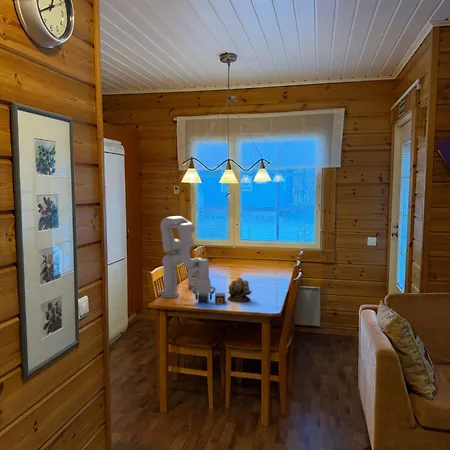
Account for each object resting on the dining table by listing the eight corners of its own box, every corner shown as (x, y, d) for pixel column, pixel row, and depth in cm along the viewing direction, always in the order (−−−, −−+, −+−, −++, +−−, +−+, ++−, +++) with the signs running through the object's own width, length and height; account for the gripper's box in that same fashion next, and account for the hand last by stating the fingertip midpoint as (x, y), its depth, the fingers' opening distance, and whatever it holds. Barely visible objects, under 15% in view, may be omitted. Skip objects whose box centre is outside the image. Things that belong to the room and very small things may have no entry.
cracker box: (188, 289, 327) (188, 263, 325) (187, 287, 333) (187, 262, 331) (206, 289, 330) (206, 263, 328) (205, 287, 336) (205, 261, 334)
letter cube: (217, 303, 290) (217, 298, 289) (217, 302, 294) (217, 296, 293) (222, 303, 289) (222, 298, 289) (223, 302, 294) (223, 296, 293)
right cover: (215, 303, 289) (215, 295, 288) (215, 301, 296) (215, 292, 295) (224, 304, 289) (225, 295, 288) (225, 301, 296) (225, 293, 295)
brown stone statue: (253, 299, 302) (253, 276, 300) (250, 303, 291) (250, 280, 289) (229, 297, 307) (229, 274, 305) (225, 301, 296) (225, 278, 294)
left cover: (198, 303, 289) (198, 295, 288) (198, 300, 296) (198, 292, 295) (207, 303, 289) (207, 295, 288) (208, 301, 296) (208, 292, 295)
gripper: (190, 277, 287) (191, 301, 288) (215, 277, 287) (215, 301, 288) (191, 275, 294) (192, 298, 296) (215, 275, 294) (216, 298, 296)
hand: (203, 299), depth 292 cm, fingers open, 9 cm apart
